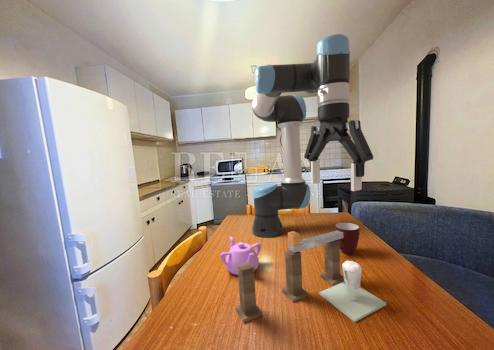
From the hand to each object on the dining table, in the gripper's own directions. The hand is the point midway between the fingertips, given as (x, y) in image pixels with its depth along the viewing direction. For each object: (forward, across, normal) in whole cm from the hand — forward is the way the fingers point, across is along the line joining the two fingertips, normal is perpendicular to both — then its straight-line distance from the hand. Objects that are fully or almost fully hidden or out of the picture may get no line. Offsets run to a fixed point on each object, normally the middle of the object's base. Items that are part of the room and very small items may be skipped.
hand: (333, 186), depth 58 cm
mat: (+29, +6, -1) cm, 29 cm away
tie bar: (+17, -3, -3) cm, 17 cm away
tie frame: (+29, -3, -12) cm, 31 cm away
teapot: (+29, -23, -19) cm, 42 cm away
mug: (+29, -12, +18) cm, 37 cm away
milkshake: (+28, +6, -1) cm, 29 cm away
